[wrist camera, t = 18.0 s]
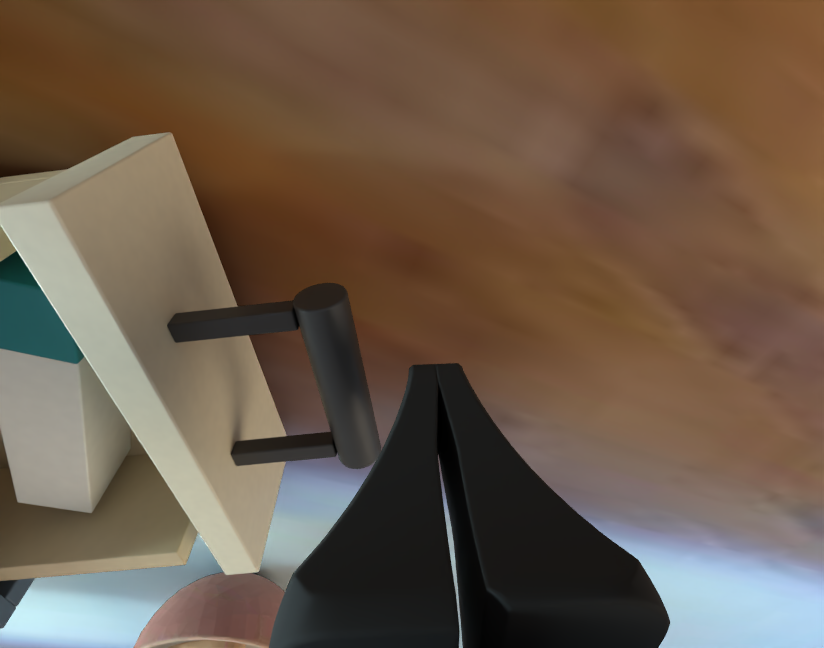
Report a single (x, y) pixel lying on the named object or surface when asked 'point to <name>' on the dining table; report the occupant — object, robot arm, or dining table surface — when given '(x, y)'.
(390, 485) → the robot arm
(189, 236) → the drawer
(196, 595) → the anatomical model
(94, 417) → the teal-capped white post
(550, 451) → the dining table surface
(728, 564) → the dining table surface
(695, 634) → the dining table surface
